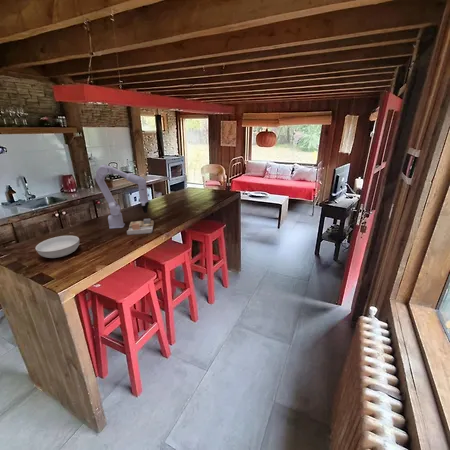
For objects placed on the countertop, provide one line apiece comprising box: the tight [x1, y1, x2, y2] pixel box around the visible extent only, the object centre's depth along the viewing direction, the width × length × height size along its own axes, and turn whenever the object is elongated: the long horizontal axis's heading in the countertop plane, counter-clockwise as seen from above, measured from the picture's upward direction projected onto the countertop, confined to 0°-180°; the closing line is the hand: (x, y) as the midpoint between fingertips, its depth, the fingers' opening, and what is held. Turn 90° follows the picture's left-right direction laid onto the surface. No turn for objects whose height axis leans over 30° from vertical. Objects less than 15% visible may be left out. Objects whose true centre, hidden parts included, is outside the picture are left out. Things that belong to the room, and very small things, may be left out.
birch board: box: [128, 219, 155, 229], centre depth 183 cm, size 16×10×2 cm, turn 101°
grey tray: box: [126, 225, 154, 236], centre depth 174 cm, size 16×9×3 cm, turn 101°
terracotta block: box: [132, 223, 140, 230], centre depth 175 cm, size 4×4×2 cm
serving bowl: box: [35, 235, 80, 259], centre depth 143 cm, size 21×21×7 cm
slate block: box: [143, 218, 152, 224], centre depth 183 cm, size 4×4×2 cm
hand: (145, 212), depth 187 cm, fingers closed
